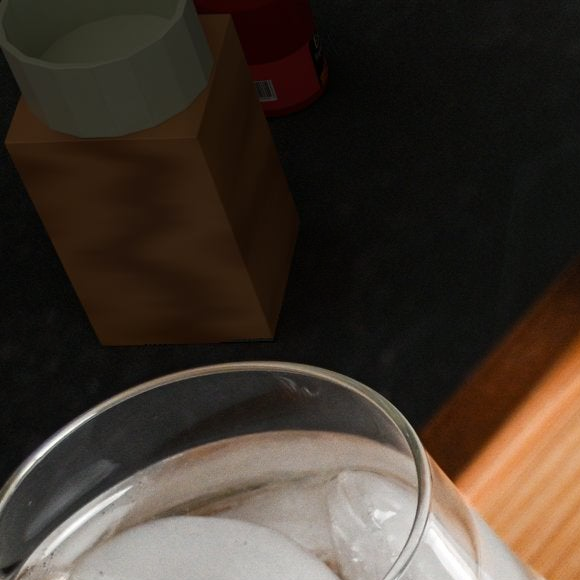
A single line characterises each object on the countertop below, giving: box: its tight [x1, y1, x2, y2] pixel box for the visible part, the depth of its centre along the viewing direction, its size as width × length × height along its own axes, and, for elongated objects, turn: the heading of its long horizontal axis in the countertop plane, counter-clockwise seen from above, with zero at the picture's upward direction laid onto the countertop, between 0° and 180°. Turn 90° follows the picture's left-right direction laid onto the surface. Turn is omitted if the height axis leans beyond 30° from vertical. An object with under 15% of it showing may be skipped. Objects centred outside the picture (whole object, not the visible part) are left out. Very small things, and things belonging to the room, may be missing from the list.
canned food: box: [193, 0, 329, 118], centre depth 142 cm, size 8×8×11 cm
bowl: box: [0, 0, 214, 138], centre depth 119 cm, size 12×12×5 cm
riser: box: [4, 14, 302, 347], centre depth 128 cm, size 12×12×17 cm
